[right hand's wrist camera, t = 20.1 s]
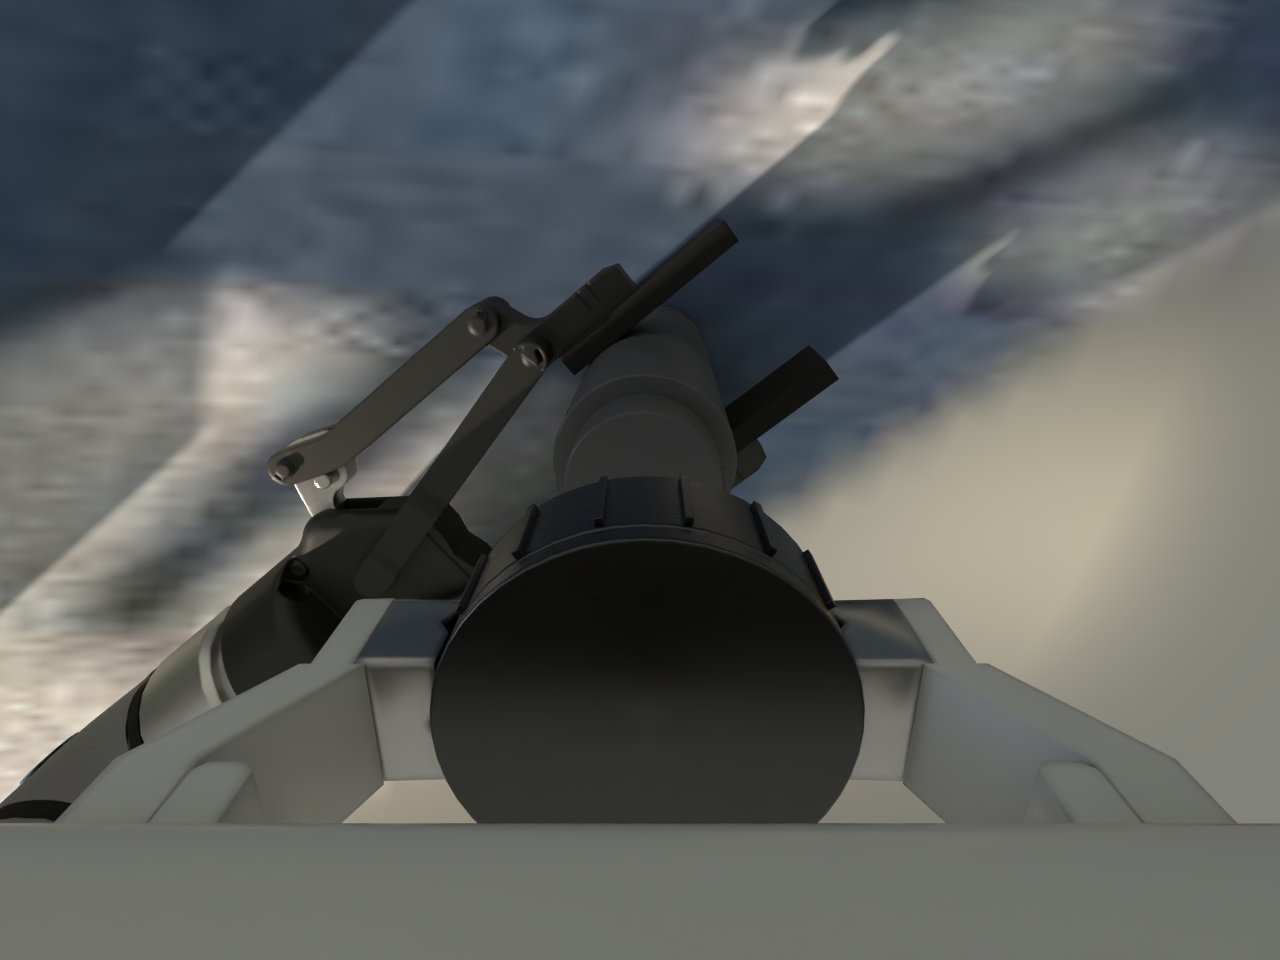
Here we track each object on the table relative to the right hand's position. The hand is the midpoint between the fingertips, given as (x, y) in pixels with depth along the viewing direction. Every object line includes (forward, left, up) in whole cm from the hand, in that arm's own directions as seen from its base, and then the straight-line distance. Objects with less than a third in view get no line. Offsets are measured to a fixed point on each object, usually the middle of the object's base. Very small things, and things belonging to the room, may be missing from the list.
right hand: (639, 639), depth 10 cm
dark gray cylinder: (0, 0, -22) cm, 22 cm away
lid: (0, 0, +2) cm, 2 cm away
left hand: (-5, 0, -15) cm, 16 cm away
